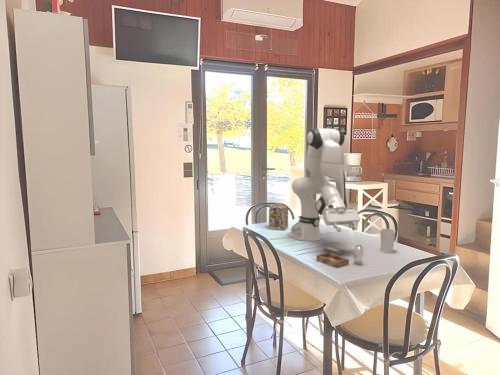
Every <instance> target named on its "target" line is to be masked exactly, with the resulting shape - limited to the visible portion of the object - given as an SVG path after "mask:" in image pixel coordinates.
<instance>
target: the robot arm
mask: <svg viewBox="0 0 500 375" xmlns="http://www.w3.org/2000/svg"><path fill="white" fill-rule="evenodd" d="M345 139H346V138H345V133H344V132H343V130H341V129H337V128H328V127H327V128H326V127H325V128H311V129H309V131H308V133H307V135H306V141H307V144H308V145H307V146H308V147H307V151H306V157H305V161H304V162H305V164H304V165H305V169H306V170H307V171H309V172H310V176H305V177H304V176H303V177H302V176H301V177H297V178H295V179H294V180H293V181H292V183H291V189H292V191H293V193H294V194H295V195H297V197H298V199H299V201H300V207H301V208H300V210H301V212H300V214H301V215H299V216H297V217H298V221H297V222H296V223H295V224H293V225H292V226H291V228H290V231H289V232H287V234H286V235H287V236H288V237H290V238H293V239H295V240H297V241H308V242H314V241H320V240H321V239H322V236H321V231H320V222H321V221H320V220H321V217H320V215H322V219H323V222H324V224H325V225H326V226H332V227H333V228H334V229H335V230H336V232H341V231H342V229H341V226H342V225H351V226H352V227H351V229H352V231H356V230H357V224H358V223H359V222H360V220H361V217H360V215H359V213H357V211H356V210H355V209H354V208H352V207H348V203H347V195H346V176H345V172H344V171H343V170H342V166H341V164H342V163H341V162H342V147H341V146H343V144H344V143H345ZM329 179H331V180H333V181H334V183H335V185H334V184H331V183H330V180H329ZM313 195H320V197H319V198H318V200H315V199H314V196H313ZM340 225H341V226H340Z"/></svg>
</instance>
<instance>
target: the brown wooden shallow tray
mask: <svg viewBox="0 0 500 375" xmlns="http://www.w3.org/2000/svg"><path fill="white" fill-rule="evenodd" d="M316 261H317V262H319V263H322V264H325V265H328V266H332V267H334V268H337V269H339V268H342V267H345V266H349V264H350V262H349V261H350V259H349V258H347V257H343V256H342V255H340V256H338V255H334V254H331V253H324V252H323V253H321V254H318V255H317V254H316Z"/></svg>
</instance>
